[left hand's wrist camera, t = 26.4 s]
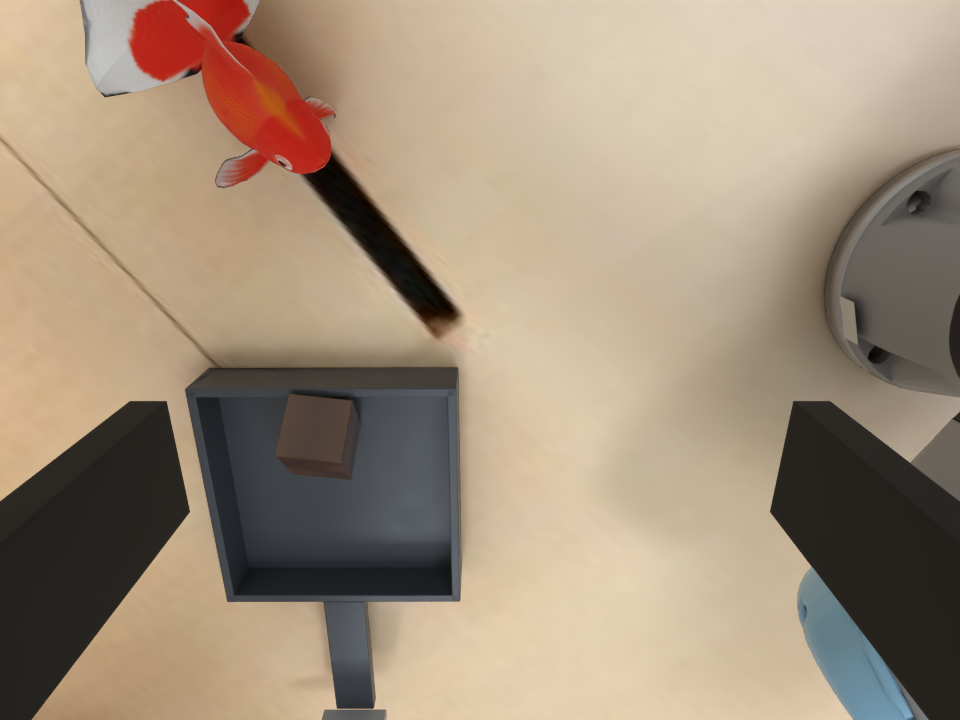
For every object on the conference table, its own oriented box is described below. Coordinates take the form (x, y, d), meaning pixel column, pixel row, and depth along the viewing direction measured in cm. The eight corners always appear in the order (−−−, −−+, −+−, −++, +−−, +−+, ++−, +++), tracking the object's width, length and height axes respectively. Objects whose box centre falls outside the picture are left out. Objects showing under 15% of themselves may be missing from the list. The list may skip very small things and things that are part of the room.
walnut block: (361, 423, 42) (352, 400, 37) (351, 480, 40) (341, 462, 35) (304, 417, 41) (288, 393, 37) (292, 474, 40) (274, 455, 35)
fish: (206, 269, 33) (113, 185, 24) (93, 47, 35) (-36, -116, 25) (377, 189, 35) (356, 80, 25) (261, -18, 37) (200, -194, 27)
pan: (458, 367, 41) (453, 425, 33) (463, 677, 51) (460, 779, 43) (208, 367, 41) (142, 425, 33) (265, 677, 51) (225, 779, 43)
